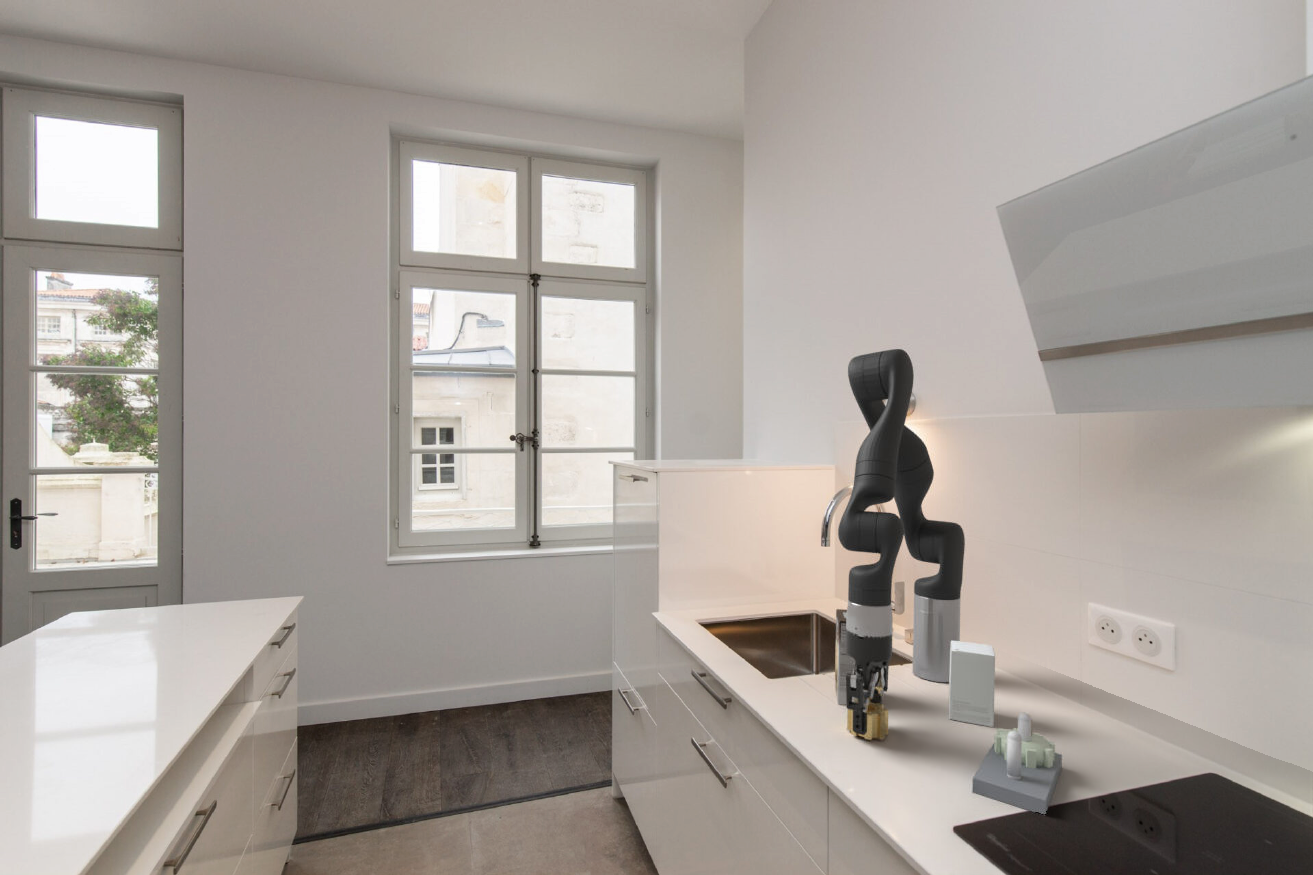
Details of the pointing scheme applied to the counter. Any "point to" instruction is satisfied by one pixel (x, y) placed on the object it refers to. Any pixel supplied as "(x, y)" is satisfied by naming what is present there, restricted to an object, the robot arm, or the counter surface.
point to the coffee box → (842, 658)
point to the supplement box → (972, 683)
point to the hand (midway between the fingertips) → (867, 725)
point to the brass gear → (872, 721)
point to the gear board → (1019, 768)
